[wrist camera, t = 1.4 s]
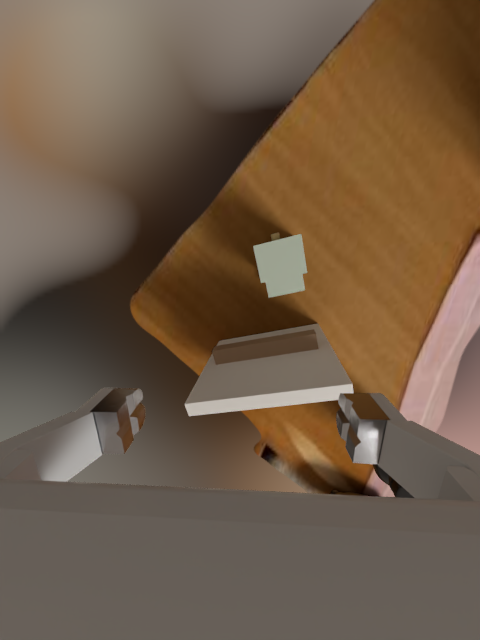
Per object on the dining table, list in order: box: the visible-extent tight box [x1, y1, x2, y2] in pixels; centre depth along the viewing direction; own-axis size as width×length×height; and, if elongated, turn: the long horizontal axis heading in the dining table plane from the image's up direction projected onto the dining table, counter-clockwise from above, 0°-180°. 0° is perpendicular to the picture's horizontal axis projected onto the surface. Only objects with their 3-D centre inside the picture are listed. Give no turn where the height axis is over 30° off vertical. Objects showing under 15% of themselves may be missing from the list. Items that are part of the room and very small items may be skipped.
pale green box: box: [253, 232, 307, 298], centre depth 29 cm, size 5×7×9 cm
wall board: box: [185, 324, 354, 416], centre depth 29 cm, size 16×8×16 cm, turn 104°
